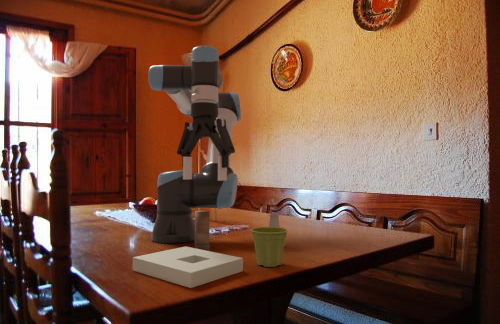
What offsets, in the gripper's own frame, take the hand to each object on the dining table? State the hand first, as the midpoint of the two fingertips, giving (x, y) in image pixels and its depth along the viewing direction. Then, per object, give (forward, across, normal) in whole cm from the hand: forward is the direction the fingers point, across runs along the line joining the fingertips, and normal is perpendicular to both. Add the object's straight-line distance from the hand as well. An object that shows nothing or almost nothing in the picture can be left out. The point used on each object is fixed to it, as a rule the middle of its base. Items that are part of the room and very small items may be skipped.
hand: (204, 180), depth 101 cm
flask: (+21, +8, +22) cm, 32 cm away
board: (+20, +9, -14) cm, 26 cm away
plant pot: (+21, +20, +3) cm, 29 cm away
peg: (+21, 0, 0) cm, 21 cm away
